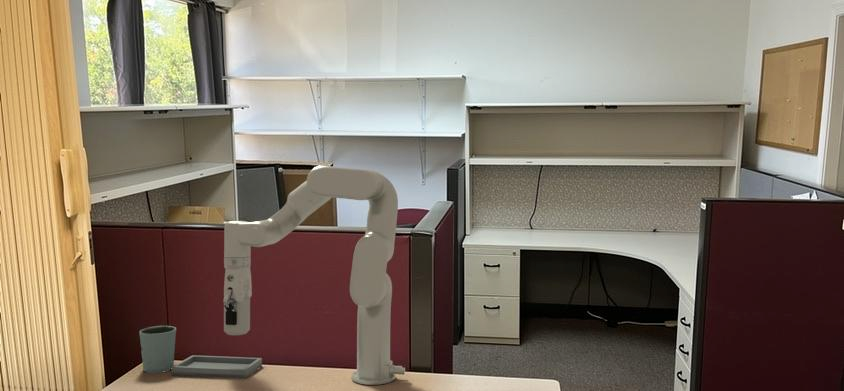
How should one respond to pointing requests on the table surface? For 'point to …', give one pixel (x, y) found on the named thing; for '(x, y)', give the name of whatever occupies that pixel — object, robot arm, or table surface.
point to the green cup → (157, 348)
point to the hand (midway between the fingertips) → (237, 321)
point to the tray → (217, 366)
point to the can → (239, 318)
